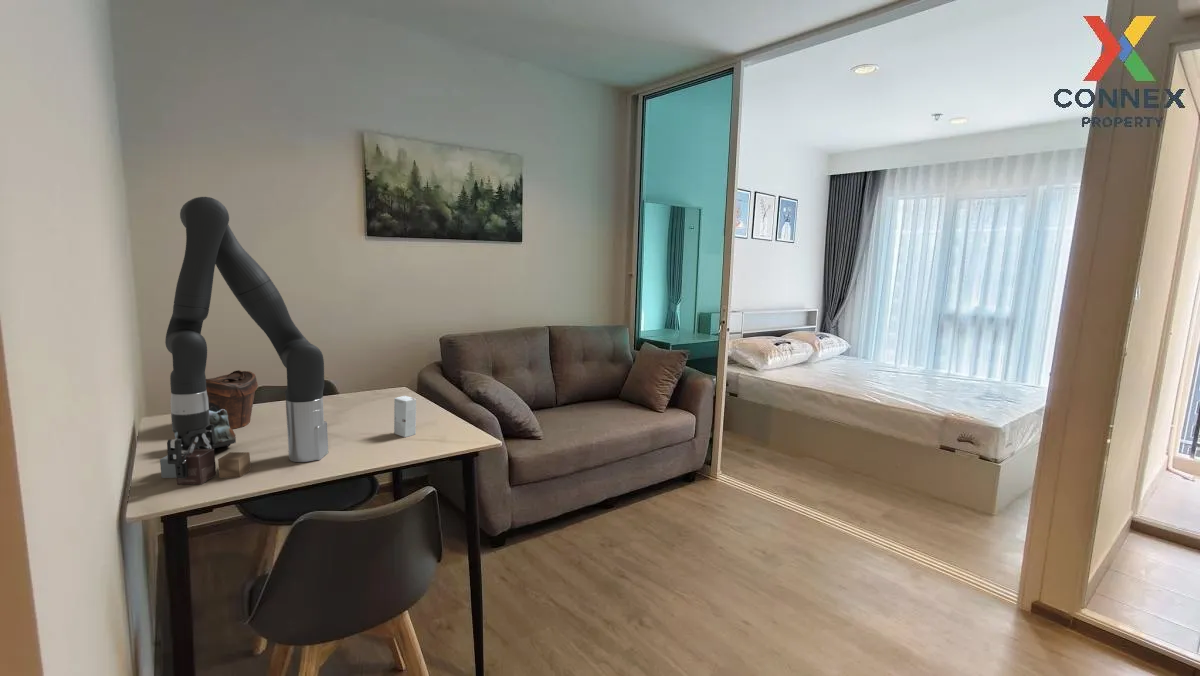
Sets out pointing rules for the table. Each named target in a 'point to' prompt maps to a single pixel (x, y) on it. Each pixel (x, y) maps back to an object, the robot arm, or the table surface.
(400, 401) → the skincare box
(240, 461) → the walnut block
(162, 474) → the grey block
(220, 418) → the grey-blue rounded figure
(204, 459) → the box
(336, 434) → the table surface
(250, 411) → the brown wooden container
